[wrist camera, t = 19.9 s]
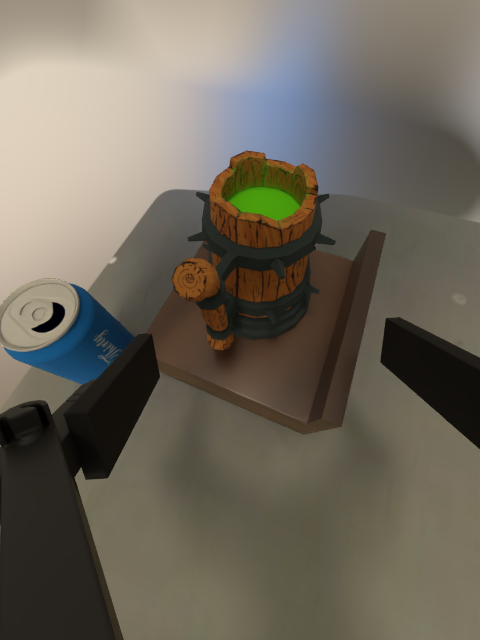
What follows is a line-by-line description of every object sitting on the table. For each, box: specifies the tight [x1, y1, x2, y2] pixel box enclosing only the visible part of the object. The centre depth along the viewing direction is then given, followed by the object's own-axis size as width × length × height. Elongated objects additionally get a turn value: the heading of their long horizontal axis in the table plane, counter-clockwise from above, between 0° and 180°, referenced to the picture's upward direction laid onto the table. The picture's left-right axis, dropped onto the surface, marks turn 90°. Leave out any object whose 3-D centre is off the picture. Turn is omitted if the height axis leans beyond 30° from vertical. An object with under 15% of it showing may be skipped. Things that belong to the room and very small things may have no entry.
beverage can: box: [0, 278, 135, 385], centre depth 23 cm, size 6×6×12 cm
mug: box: [172, 151, 336, 350], centre depth 18 cm, size 13×10×12 cm
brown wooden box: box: [146, 230, 386, 434], centre depth 24 cm, size 16×16×11 cm
